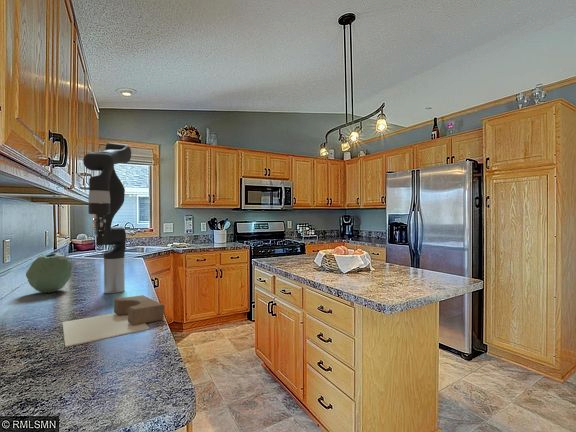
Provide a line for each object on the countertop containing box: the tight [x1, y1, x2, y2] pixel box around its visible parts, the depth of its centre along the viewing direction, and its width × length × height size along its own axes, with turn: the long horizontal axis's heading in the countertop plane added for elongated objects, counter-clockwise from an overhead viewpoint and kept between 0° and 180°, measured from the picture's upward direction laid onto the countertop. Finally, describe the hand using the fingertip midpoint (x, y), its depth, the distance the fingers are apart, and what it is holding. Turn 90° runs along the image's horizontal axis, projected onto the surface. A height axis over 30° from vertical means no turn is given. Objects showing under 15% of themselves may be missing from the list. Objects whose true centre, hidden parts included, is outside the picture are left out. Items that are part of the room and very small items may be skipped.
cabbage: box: [25, 251, 73, 294], centre depth 156 cm, size 16×19×20 cm
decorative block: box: [113, 295, 165, 325], centre depth 115 cm, size 11×6×20 cm
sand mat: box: [62, 312, 150, 348], centre depth 106 cm, size 26×23×1 cm
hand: (99, 245), depth 123 cm, fingers closed
